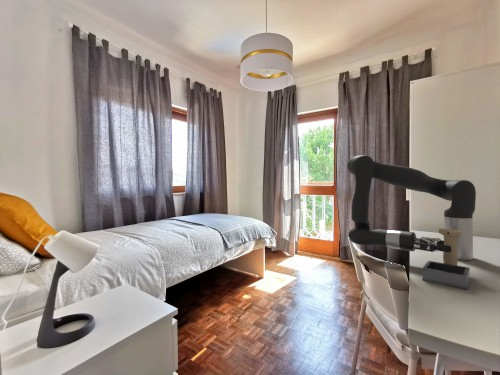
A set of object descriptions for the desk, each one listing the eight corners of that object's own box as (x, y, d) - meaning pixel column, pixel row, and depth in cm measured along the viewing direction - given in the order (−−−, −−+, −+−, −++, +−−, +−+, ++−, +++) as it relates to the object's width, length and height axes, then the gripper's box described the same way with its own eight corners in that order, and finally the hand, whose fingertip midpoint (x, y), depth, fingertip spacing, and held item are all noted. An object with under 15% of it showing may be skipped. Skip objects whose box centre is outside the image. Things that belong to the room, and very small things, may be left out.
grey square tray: (429, 271, 85) (428, 260, 85) (469, 279, 77) (469, 267, 77) (422, 280, 77) (422, 267, 77) (467, 290, 69) (466, 276, 69)
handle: (460, 276, 80) (460, 232, 80) (437, 270, 85) (436, 229, 85) (463, 272, 83) (463, 230, 83) (441, 268, 88) (440, 228, 88)
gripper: (395, 233, 91) (450, 239, 79) (405, 228, 100) (455, 233, 89) (395, 252, 91) (450, 262, 79) (405, 246, 100) (455, 253, 89)
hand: (453, 247), depth 84 cm, fingers open, 8 cm apart
